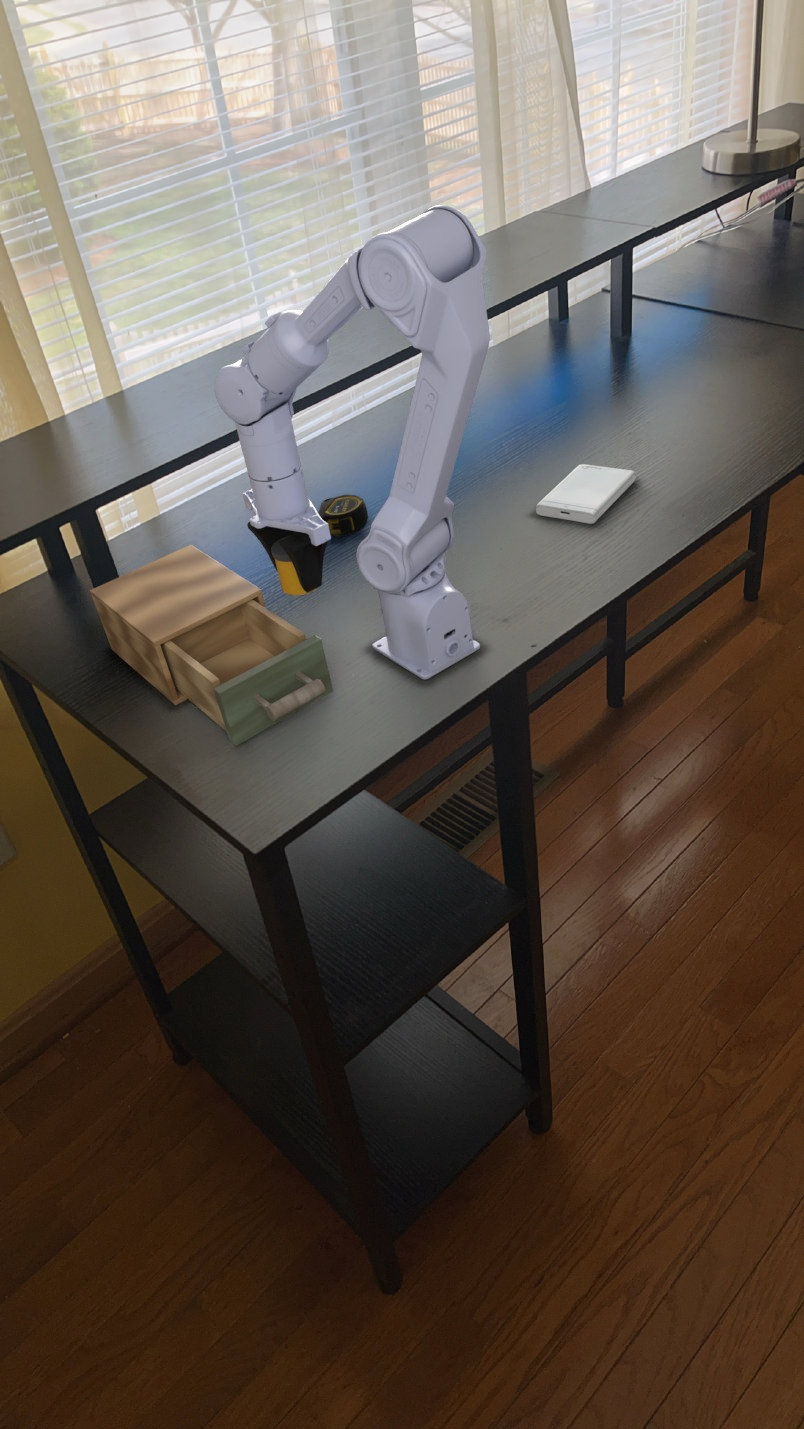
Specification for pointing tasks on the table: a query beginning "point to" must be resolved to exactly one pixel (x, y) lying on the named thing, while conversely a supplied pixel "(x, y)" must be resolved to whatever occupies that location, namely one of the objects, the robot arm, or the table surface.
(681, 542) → the table surface
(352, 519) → the tape measure
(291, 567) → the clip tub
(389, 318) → the robot arm
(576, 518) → the hard drive
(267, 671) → the drawer
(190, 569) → the cabinet
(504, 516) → the table surface
